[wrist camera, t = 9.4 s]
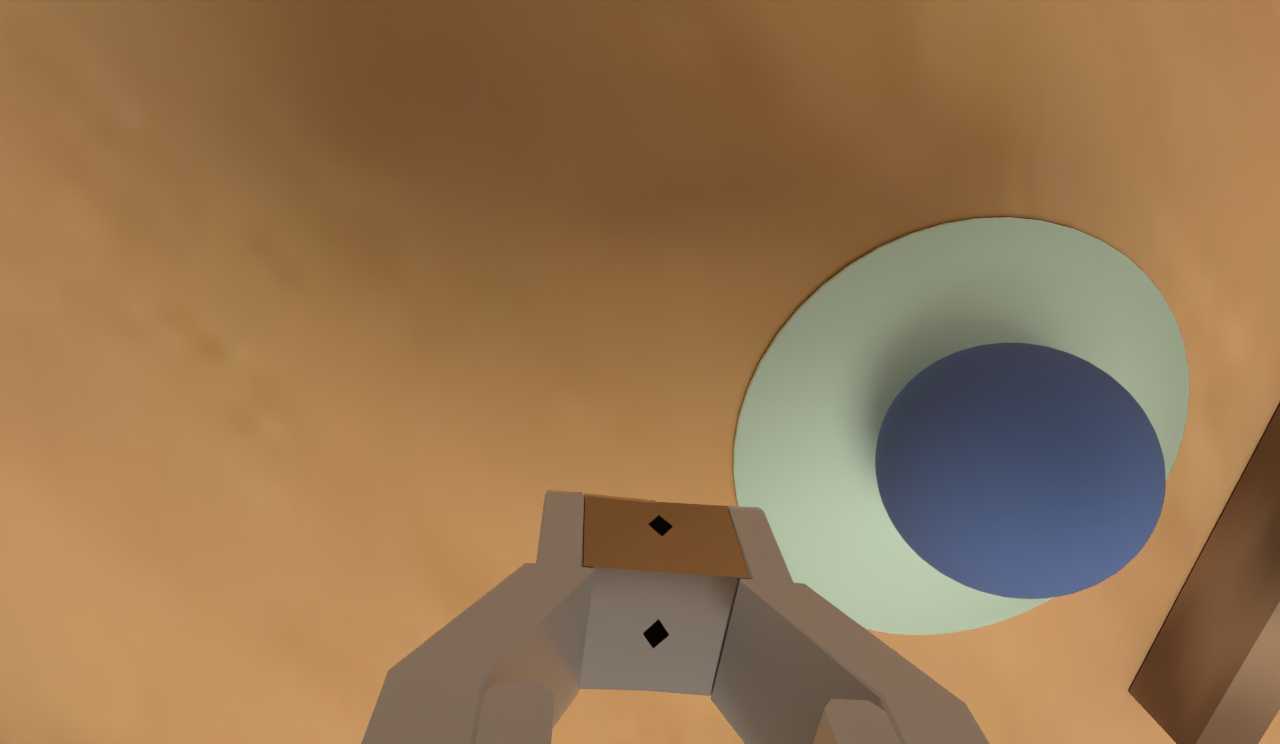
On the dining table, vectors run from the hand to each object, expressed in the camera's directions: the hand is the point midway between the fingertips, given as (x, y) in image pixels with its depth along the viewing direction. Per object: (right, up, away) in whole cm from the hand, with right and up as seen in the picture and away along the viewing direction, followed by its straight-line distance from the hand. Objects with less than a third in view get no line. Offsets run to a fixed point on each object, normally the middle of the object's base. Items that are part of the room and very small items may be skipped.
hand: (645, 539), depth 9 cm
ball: (+9, 0, +7) cm, 11 cm away
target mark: (+9, 0, +10) cm, 13 cm away
